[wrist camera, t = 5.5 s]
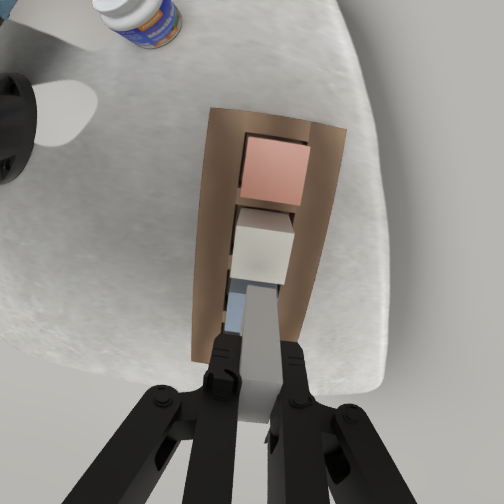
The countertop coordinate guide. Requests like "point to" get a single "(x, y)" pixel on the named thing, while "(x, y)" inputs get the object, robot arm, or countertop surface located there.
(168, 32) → the pill bottle
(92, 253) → the countertop surface
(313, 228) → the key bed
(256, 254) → the key ivory
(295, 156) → the key brick
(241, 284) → the key blue
